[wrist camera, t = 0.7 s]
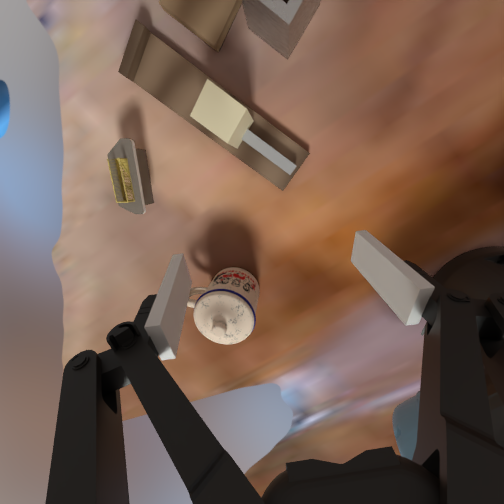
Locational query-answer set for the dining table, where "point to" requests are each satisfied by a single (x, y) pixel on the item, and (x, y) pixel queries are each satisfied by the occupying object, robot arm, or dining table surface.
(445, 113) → the dining table surface
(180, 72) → the rail
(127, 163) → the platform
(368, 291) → the dining table surface
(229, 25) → the square plate with peg
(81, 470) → the robot arm
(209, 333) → the teacup with lid
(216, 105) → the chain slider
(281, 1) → the grey hollow square block
